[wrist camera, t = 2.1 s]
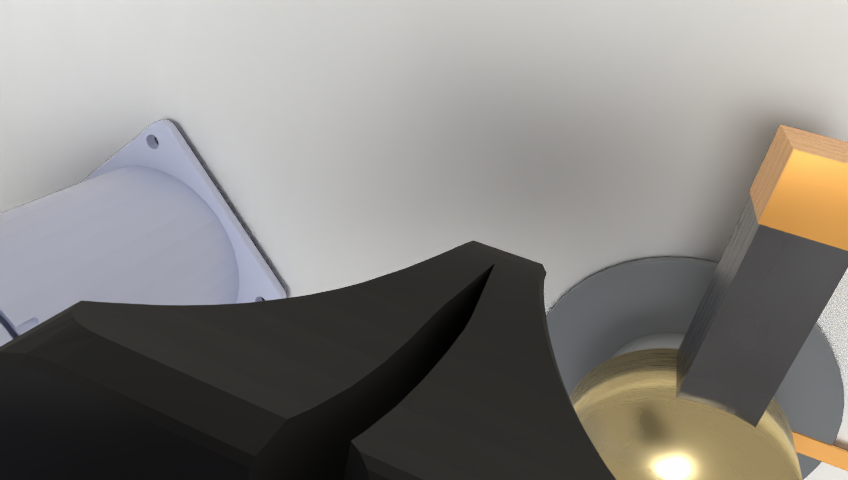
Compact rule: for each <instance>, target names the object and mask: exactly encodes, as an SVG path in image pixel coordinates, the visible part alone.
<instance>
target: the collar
mask: <svg viewBox="0 0 848 480" xmlns="http://www.w3.org/2000/svg"><path fill="white" fill-rule="evenodd" d="M847 268H848V142H844V141H841V140H837V139H833V138H830V137H826V136H822V135H818V134H815V133H811V132H807V131H803V130H800V129H796V128H792V127H788V126H785V125H781V124H780V126H779V128H778V130H777V132H776V135H775V137H774V139H773V141H772V143H771V145H770V148H769V150H768V152H767V154H766V156H765V158H764V160H763V163H762V165H761V167H760V169H759V171H758V173H757V176H756V178H755V180H754V182H753V184H752V186H751V189H750V197H749V199H748V202H747V204H746V206H745V208H744V210H743V212H742V214H741V217H740V219H739V221H738V223H737V225H736V227H735V229H734V232H733V234H732V236H731V238H730V240H729V242H728V245H727V247H726V249H725V251H724V253H723V255H722V257H721V260H720V262H719V264H718V266H717V268H716V270H715V272H714V275H713V277H712V279H711V281H710V283H709V285H708V287H707V290H706V292H705V294H704V296H703V298H702V300H701V302H700V305H699V307H698V309H697V311H696V313H695V315H694V317H693V320H692V322H691V324H690V326H689V328H688V330H687V333H686V335H685V337H684V339H683V341H682V343H681V345H680V348H679V349H673V348H650V349H643V350H636V351H632V352H628V353H624V354H621V355H618V356H616V357H613V358H611V359H608V360H607V361H605V362H603V363H601V364H599V365H598V366H596V367H595V368H594V369H592V370H591V371H590V372H588V373H587V374H586V375H585V376H584V377H583V378H582V379H581V380H580V382H579V383H578V384H577V386H576V387H575V389H574V390H573V392H572V394H571V396H570V400H571V403H572V405H573V407H574V409H575V411H576V413H577V415H578V418H579V420H580V422H581V424H582V426H583V428H584V429H585V431H586V433H587V435H588V436H589V438H590V440H591V441H592V443H593V445H594V446H595V448H596V450H597V452H598V453H599V455H600V457H601V458H602V460H603V461H604V463H605V464H606V466H607V467H608V469H609V470H610V471H611V473H612V474H613V476H614V477H615V478H616V480H802V475H801V471H800V466H799V461H798V457H797V452H796V448H795V443H794V438H793V435H792V431H791V427H790V424H789V422H788V420H787V417H786V415H785V413H784V411H783V410H782V408H781V407H780V405H779V404H778V402H777V401H776V400H775V398H774V397H773V396H774V395H775V393H776V391H777V389H778V388H779V386H780V384H781V382H782V381H783V379H784V377H785V376H786V374H787V372H788V370H789V369H790V367H791V365H792V363H793V362H794V360H795V358H796V356H797V355H798V353H799V351H800V349H801V348H802V346H803V344H804V343H805V341H806V339H807V337H808V336H809V334H810V332H811V330H812V329H813V327H814V325H815V323H816V322H817V320H818V318H819V316H820V315H821V313H822V311H823V309H824V308H825V306H826V304H827V303H828V301H829V299H830V297H831V296H832V294H833V292H834V290H835V289H836V287H837V285H838V283H839V282H840V280H841V278H842V276H843V275H844V273H845V271H846V269H847Z"/></svg>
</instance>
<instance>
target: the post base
mask: <svg viewBox="0 0 848 480" xmlns="http://www.w3.org/2000/svg"><path fill="white" fill-rule="evenodd" d="M718 264H719V263H717V262H713V261H709V260H702V259H695V258H688V257H657V258H645V259H640V260H635V261H630V262H625V263H622V264H619V265H616V266H613V267H610V268H606V269H604V270H602V271H600V272H598V273H596V274H594V275H592V276H590V277H588V278H586V279H585V280H583V281H582V282H580V283H579V284H577V285H576V286H574V287H573V288H572V289H571V290H570V291H568V292H567V293H566V294H565V295H564V296H563V297H561V299H560V300H559V301H558V302H557V303H556V304H555V306H554V307H553V308H552V309H551V310H550V312H549V314H548V315H547V317H546V319H547V325H548V331H549V336H550V340H551V344H552V348H553V352H554V355H555V359H556V362H557V366H558V369H559V372H560V375H561V378H562V380H563V383H564V386H565V388H566V391H567V393H568V395H569V398H570V396H571V394H572V392H573V390H574V389H575V387H576V386H577V384H578V383H579V382H580V380H581V379H582V378H583V377H584V376H585V375H586V374H587V373H588V372H590V371H591V370H592V369H594V368H595V367H596V366H598V365H599V364H601V363H603V362H605V361H607V360H608V359H611V358H613V357H616V356H618V355H621V354H624V353H628V352H632V351H636V350H643V349H650V348H673V349H679V348H680V345H681V343H682V341H683V339H684V337H685V335H686V333H687V330H688V328H689V326H690V324H691V322H692V320H693V317H694V315H695V313H696V311H697V309H698V307H699V305H700V302H701V300H702V298H703V296H704V294H705V292H706V290H707V287H708V285H709V283H710V281H711V279H712V277H713V275H714V272H715V270H716V268H717V266H718ZM773 397H774V398H775V400H776V401H777V402H778V404H779V405H780V407H781V408H782V410H783V411H784V413H785V415H786V417H787V420H788V422H789V424H790V427H791V431H792V435H793V438H794V443H795V448H796V452H797V457H798V461H799V466H800V471H801V475H802V480H803V479H805V478H806V477H807V476H808V475H809V474H810V473H811V472H812V471H813V470H814V469H815V468H816V467H817V466H818V465H819V464H820V463H821V461H822V462H825V463H828V464H830V465H833V466H836V467H838V468H841V469H843V470H846V471H848V451H847V450H845V449H842V448H839V447H837V446H834V445H833V443H834V441H835V439H836V437H837V434H838V431H839V428H840V425H841V422H842V416H843V409H844V390H843V383H842V379H841V374H840V370H839V367H838V364H837V361H836V359H835V356H834V354H833V351H832V349H831V347H830V344H829V342H828V341H827V339H826V337H825V336H824V334H823V333H822V331H821V329H820V328H819V326H818V325H817V324H816V323H815V325H814V327H813V329H812V330H811V332H810V334H809V336H808V337H807V339H806V341H805V343H804V344H803V346H802V348H801V349H800V351H799V353H798V355H797V356H796V358H795V360H794V362H793V363H792V365H791V367H790V369H789V370H788V372H787V374H786V376H785V377H784V379H783V381H782V382H781V384H780V386H779V388H778V389H777V391H776V393H775V395H774V396H773Z"/></svg>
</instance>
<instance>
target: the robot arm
mask: <svg viewBox="0 0 848 480" xmlns="http://www.w3.org/2000/svg"><path fill="white" fill-rule="evenodd" d="M154 136H155V137H156V138H157V140H158V144H157V143H156V142H155V139H154ZM545 276H546V271H545V269H544V267H543V265H542V264H540V263H537V262H534V261H531V260H528V259H525V258H522V257H519V256H516V255H514V254H511V253H508V252H505V251H502V250H499V249H496V248H493V247H490V246H487V245H485V244H482V243H479V242H476V241H471V242H468V243H465V244H463V245H461V246H458V247H456V248H454V249H452V250H449V251H447V252H445V253H442V254H440V255H438V256H435V257H433V258H430V259H428V260H425V261H423V262H420V263H418V264H415V265H413V266H410V267H408V268H405V269H402V270H399V271H396V272H393V273H390V274H387V275H384V276H381V277H378V278H375V279H372V280H369V281H366V282H363V283H359V284H356V285H352V286H348V287H344V288H340V289H336V290H331V291H326V292H321V293H316V294H312V295H306V296H300V297H291V298H287V297H286V293H285V290H284V289H283V287H282V286H281V284H280V283H279V281H278V280H277V278H276V277H275V275H274V274H273V272H272V271H271V269H270V268H269V266H268V265H267V263H266V262H265V260H264V259H263V257H262V256H261V254H260V253H259V251H258V250H257V248H256V247H255V245H254V244H253V242H252V240H251V239H250V237H249V236H248V234H247V233H246V231H245V230H244V228H243V227H242V225H241V224H240V222H239V221H238V219H237V218H236V216H235V215H234V213H233V212H232V210H231V209H230V207H229V206H228V204H227V203H226V201H225V200H224V198H223V197H222V195H221V194H220V192H219V191H218V189H217V188H216V186H215V185H214V183H213V182H212V180H211V179H210V177H209V176H208V174H207V173H206V171H205V170H204V168H203V167H202V165H201V164H200V162H199V161H198V159H197V158H196V156H195V155H194V153H193V152H192V150H191V149H190V147H189V146H188V144H187V143H186V141H185V140H184V138H183V137H182V135H181V134H180V132H179V131H178V129H177V128H176V126H175V125H174V124H173V123H172V122H171V121H169V120H165V119H162V120H159V121H156V122H154V123H153V124H151V125H150V126H149V127H148V128H146V129H145V130H144V131H143V132H142V133H140V134H139V135H138V136H137V137H135V138H134V139H133V140H132V141H131V142H129V143H128V144H127V145H126V146H125V147H123V148H122V149H121V150H120V151H118V152H117V153H116V154H115V155H114V156H112V157H111V158H110V159H109V160H107V161H106V162H105V163H104V164H103V165H101V166H100V167H99V168H98V169H96V170H95V171H94V172H93V173H92V174H90V175H89V176H88V177H87V178H86V179H84V180H83V181H82V182H81V183H79V184H76V185H74V186H71V187H68V188H66V189H63V190H61V191H58V192H55V193H53V194H50V195H47V196H45V197H42V198H39V199H37V200H34V201H31V202H29V203H26V204H23V205H21V206H18V207H15V208H13V209H10V210H8V211H5V212H2V213H0V480H616V478H615V477H614V476H613V474H612V473H611V471H610V470H609V469H608V467H607V466H606V464H605V463H604V461H603V460H602V458H601V457H600V455H599V453H598V452H597V450H596V448H595V446H594V445H593V443H592V441H591V440H590V438H589V436H588V435H587V433H586V431H585V429H584V428H583V426H582V424H581V422H580V420H579V418H578V415H577V413H576V411H575V409H574V407H573V405H572V403H571V400H570V398H569V395H568V393H567V391H566V388H565V386H564V383H563V380H562V378H561V375H560V372H559V369H558V366H557V362H556V359H555V355H554V352H553V348H552V344H551V340H550V336H549V331H548V325H547V319H546V314H545V306H544V279H545ZM261 297H262V298H264V299H265V300H266V301H262V298H261Z"/></svg>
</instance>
